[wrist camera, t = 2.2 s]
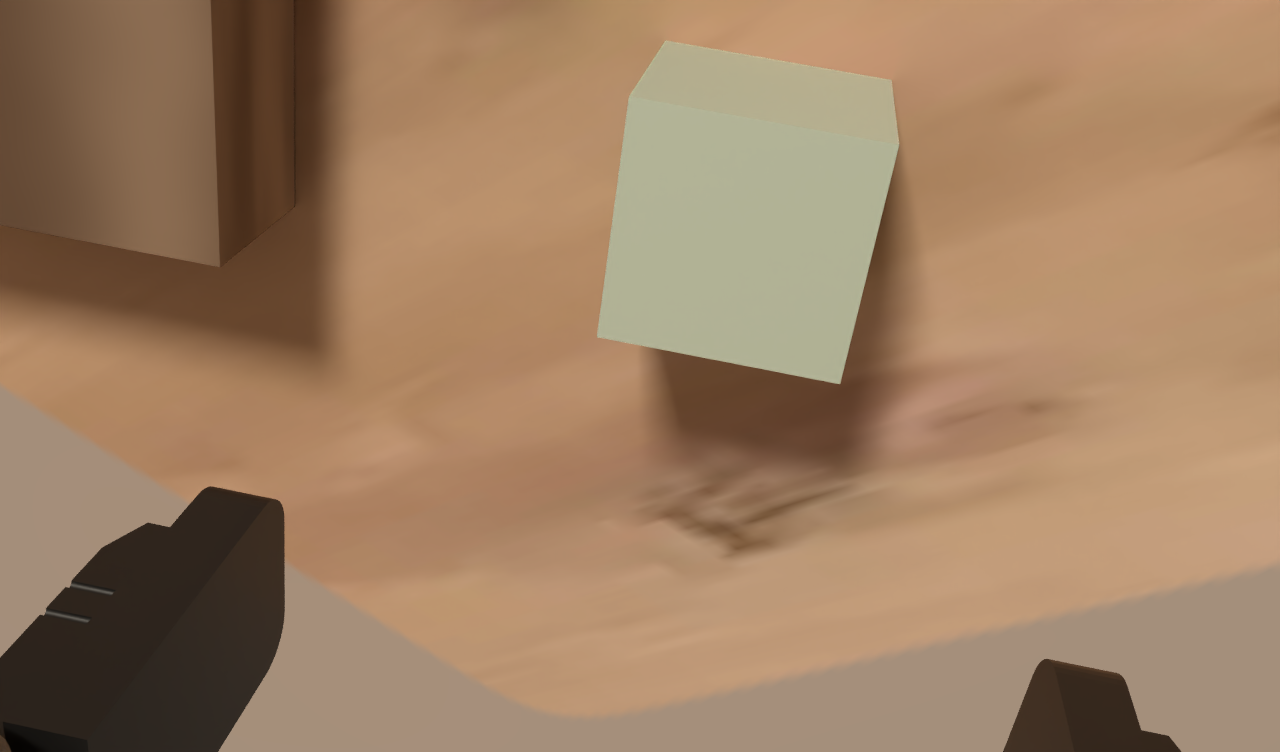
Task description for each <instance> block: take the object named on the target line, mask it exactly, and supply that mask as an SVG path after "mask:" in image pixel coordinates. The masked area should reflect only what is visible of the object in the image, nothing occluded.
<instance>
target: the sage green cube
mask: <svg viewBox="0 0 1280 752" xmlns="http://www.w3.org/2000/svg"><path fill="white" fill-rule="evenodd" d="M898 148H899V139H898V130H897V122H896V114H895V105H894V97H893V89H892V80H889V79H883V78H878V77H872V76H866V75H861V74H855V73H849V72H843V71H838V70H832V69H826V68H820V67H815V66H809V65H803V64H798V63H792V62H786V61H780V60H775V59H769V58H763V57H757V56H752V55H746V54H740V53H735V52H729V51H723V50H717V49H712V48H706V47H700V46H694V45H689V44H683V43H677V42H672V41H666V40H665V42H664V43H663V45H662V47H661V48H660V50H659V51H658V53H657V54H656V56H655V57H654V59H653V60H652V62H651V63H650V65H649V67H648V68H647V70H646V71H645V73H644V74H643V76H642V77H641V79H640V80H639V82H638V83H637V85H636V87H635V88H634V90H633V91H632V93H631V94H630V96H629V101H628V108H627V116H626V123H625V131H624V138H623V145H622V153H621V160H620V168H619V175H618V183H617V190H616V198H615V205H614V213H613V220H612V228H611V235H610V243H609V250H608V258H607V265H606V273H605V280H604V288H603V295H602V303H601V310H600V318H599V325H598V333H597V337H599V338H605V339H610V340H615V341H620V342H625V343H630V344H635V345H641V346H646V347H651V348H656V349H661V350H666V351H671V352H677V353H682V354H687V355H692V356H697V357H702V358H708V359H713V360H718V361H723V362H728V363H733V364H738V365H744V366H749V367H754V368H759V369H764V370H769V371H774V372H780V373H785V374H790V375H795V376H800V377H805V378H810V379H816V380H821V381H826V382H831V383H836V384H840V383H841V378H842V374H843V370H844V366H845V362H846V358H847V354H848V350H849V346H850V342H851V338H852V334H853V330H854V326H855V322H856V318H857V314H858V310H859V306H860V302H861V298H862V294H863V289H864V285H865V281H866V277H867V273H868V269H869V265H870V261H871V257H872V253H873V249H874V245H875V241H876V237H877V233H878V229H879V225H880V221H881V217H882V213H883V209H884V205H885V201H886V196H887V192H888V188H889V184H890V180H891V176H892V172H893V168H894V164H895V160H896V156H897V152H898Z"/></svg>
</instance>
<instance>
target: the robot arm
mask: <svg viewBox="0 0 1280 752" xmlns="http://www.w3.org/2000/svg"><path fill="white" fill-rule="evenodd" d="M284 594H285V590H284V511H283V507H282V504H281V503H280V501H278V500H276V499H271V498H266V497H261V496H256V495H251V494H246V493H241V492H236V491H232V490H227V489H222V488H217V487H207V488H205V489H204V490H202V491H201V492H200V493H199V494H198V495H197V497H196V498H195V499H194V500H193V501H192V502H191V504H190V505H189V506H188V507H187V508H186V509H185V510H184V512H183V513H182V514H181V515H180V516H179V517H178V519H177V520H176V521H175V522H174V523H173V525H172V526H171V527H165V526H161V525H156V524H151V523H146V524H145V525H143V526H141V527H139V528H137V529H135V530H134V531H132V532H130V533H128V534H127V535H124V536H123V537H121V538H119V539H117V540H115V541H113V542H112V543H110V544H108V545H106V546H104V547H103V548H101V549H100V550H99V552H98V553H97V554H96V555H95V556H94V557H93V558H92V559H91V560H90V561H89V562H88V563H87V565H86V566H85V567H84V568H83V569H82V570H81V571H80V572H79V573H78V574H77V575H76V576H75V578H74V579H73V580H72V583H71V586H70V588H67V587H65V588H64V590H63V591H62V592H61V593H60V594H59V595H58V596H57V597H56V598H55V599H54V600H53V601H52V602H51V603H50V604H49V606H48V607H47V608H46V613H45V615H44V616H43V615H39V616H38V617H37V619H36V620H35V621H34V622H33V623H32V624H31V625H30V626H29V627H28V628H27V629H26V630H25V631H24V633H23V634H22V635H21V636H20V637H19V638H18V639H17V640H16V641H15V642H14V643H13V645H12V646H11V647H10V648H9V649H8V650H7V651H6V652H5V653H4V654H3V655H2V656H1V658H0V752H218V751H219V749H220V748H221V746H222V744H223V743H224V741H225V740H226V738H227V736H228V735H229V733H230V732H231V730H232V728H233V727H234V725H235V723H236V722H237V720H238V719H239V717H240V715H241V714H242V712H243V711H244V709H245V707H246V705H247V704H248V703H249V701H250V699H251V698H252V696H253V694H254V693H255V691H256V690H257V688H258V686H259V685H260V683H261V682H262V680H263V678H264V677H265V675H266V673H267V672H268V670H269V668H270V666H271V663H272V662H273V659H274V657H275V654H276V651H277V648H278V645H279V642H280V638H281V634H282V629H283V623H284V611H285V609H284V608H285V607H284V605H285V598H284V596H285V595H284ZM1003 752H1181V751H1180V749H1179V748H1178V747H1177V746H1176V745H1175V743H1174V742H1173V741H1172V740H1171V738H1170V737H1169V736H1166V735H1161V734H1157V733H1152V732H1147V731H1142V730H1141V728H1140V725H1139V722H1138V719H1137V716H1136V712H1135V709H1134V706H1133V703H1132V700H1131V696H1130V693H1129V691H1128V687H1127V684H1126V682H1125V680H1124V678H1123V677H1122V676H1121V675H1120V674H1117V673H1114V672H1109V671H1103V670H1099V669H1094V668H1089V667H1084V666H1079V665H1074V664H1069V663H1064V662H1060V661H1055V660H1050V659H1044V660H1043V661H1041V662H1040V663H1039V665H1038V666H1037V668H1036V670H1035V672H1034V674H1033V676H1032V679H1031V682H1030V684H1029V687H1028V690H1027V692H1026V694H1025V697H1024V700H1023V702H1022V705H1021V708H1020V710H1019V712H1018V715H1017V718H1016V720H1015V723H1014V725H1013V728H1012V730H1011V733H1010V736H1009V738H1008V741H1007V743H1006V746H1005V748H1004V751H1003Z"/></svg>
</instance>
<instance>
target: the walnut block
mask: <svg viewBox="0 0 1280 752" xmlns="http://www.w3.org/2000/svg"><path fill="white" fill-rule="evenodd" d="M293 207H295V161H294V0H0V225H2V226H7V227H13V228H18V229H23V230H28V231H33V232H39V233H44V234H49V235H54V236H59V237H65V238H70V239H75V240H80V241H85V242H91V243H96V244H101V245H106V246H112V247H117V248H122V249H127V250H132V251H138V252H143V253H148V254H153V255H158V256H164V257H169V258H174V259H179V260H185V261H190V262H195V263H200V264H205V265H211V266H216V267H221V266H222V265H223V264H225V263H226V262H227V261H228V260H230V259H231V258H232V257H233V256H234V255H236V254H237V253H238V252H239V251H241V250H242V249H243V248H244V247H246V246H247V245H248V244H249V243H250V242H252V241H253V240H254V239H255V238H257V237H258V236H259V235H260V234H261V233H263V232H264V231H265V230H266V229H268V228H269V227H270V226H271V225H273V224H274V223H275V222H276V221H277V220H279V219H280V218H281V217H282V216H284V215H285V214H286V213H287V212H288V211H290V210H291V209H292V208H293Z"/></svg>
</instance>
